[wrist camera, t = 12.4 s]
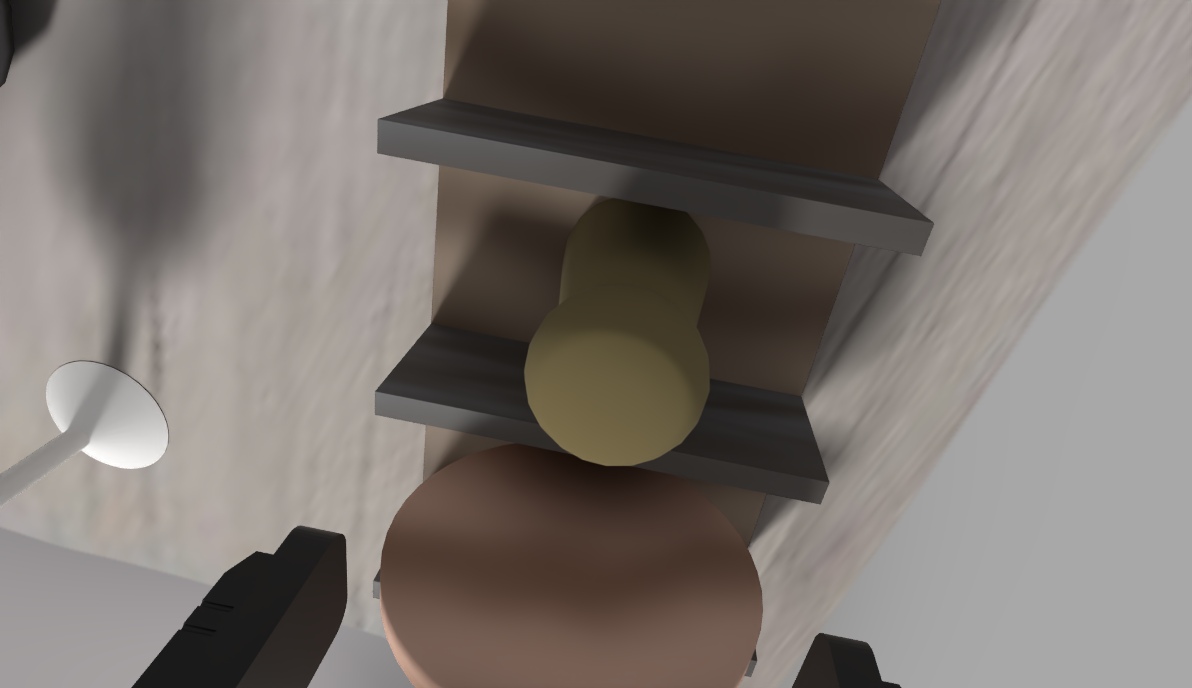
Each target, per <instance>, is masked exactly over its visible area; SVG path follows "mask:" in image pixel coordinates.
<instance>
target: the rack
mask: <svg viewBox="0 0 1192 688" xmlns="http://www.w3.org/2000/svg"><path fill="white" fill-rule="evenodd" d="M940 2H941V0H448V10H447V29H446V48H445V67H444V87H443V99H440V100H436V101H433V102H430V103H427V104H424V105H421V106H417V107H414V108H411V109H408V110H405V111H402V112H398V113H395V114H392V115H389V116H386V117H383V118H380V119H378V147H377V153H379V154H384V155H389V156H395V157H400V158H405V159H411V160H416V161H421V162H426V163H432V164H437V165H439V183H438V202H437V221H436V240H435V260H434V279H433V298H432V317H431V324H430V326H429V327H428V328H427V329H426V331H425V332H424V333H423V334H422V335H421V337H420V338H419V339H418V340H417V341H416V343H415V344H414V345H413V346H412V347H411V349H410V350H409V351H408V352H407V354H406V355H405V356H404V357H403V358H402V360H401V361H400V362H399V363H398V364H397V366H396V367H395V368H394V369H393V370H392V372H391V373H390V374H389V375H388V377H387V378H386V379H385V380H384V381H383V383H382V384H381V385H380V386H379V387H378V389H377V390H376V391H375V415H379V416H384V417H389V418H394V419H399V420H404V421H409V422H414V423H419V424H424V425H426V433H425V452H424V471H423V483H422V484H421V485H420V486H419V487H418V488H417V489H416V490H415V491H414V492H413V493H412V494H411V495H410V496H409V497H408V498H407V499H406V501H405V502H404V504H403V505H402V506H401V508H400V509H399V511H398V512H397V514H396V515H395V517H394V519H393V521H392V524H391V526H390V528H389V530H388V532H387V535H386V539H385V542H384V546H383V550H382V557H381V568H380V570H379V571H378V573H377V575H376V577H375V579H374V581H373V598H377V599H380V604H381V617H382V621H383V625H384V629H385V632H386V636H387V640H388V642H389V644H390V646H391V649H392V651H393V653H394V655H395V658H396V660H397V661H398V663H399V665H400V666H401V668H402V669H403V671H404V672H405V674H406V675H407V677H408V678H409V680H410V681H411V683H412V684H413V685H414V686H415V687H416V688H738V687H739V685H740V683H741V681H742V679H743V677H744V676H748V677H751V675H752V673H753V670H754V668H755V665H756V663H757V657H756V644H757V641H758V637H759V634H760V631H761V623H762V614H763V604H762V590H761V586H760V581H759V577H758V572H757V570H756V567H755V565H754V562H753V559H752V557H751V554H750V552H749V551H748V549H747V548H748V546H749V543H750V540H751V537H752V534H753V531H754V529H755V526H756V523H757V520H758V517H759V514H760V512H761V509H762V506H763V503H764V500H765V497H766V495H767V494H771V495H776V496H781V497H786V498H791V499H796V500H801V501H806V502H811V503H816V504H821V502H822V500H823V497H824V495H825V492H826V490H827V487H828V485H829V480H828V477H827V474H826V471H825V468H824V465H823V461H822V458H821V455H820V452H819V449H818V446H817V443H816V440H815V437H814V434H813V431H812V428H811V425H810V422H809V419H808V416H807V413H806V410H805V407H804V403H803V400H802V397H801V396H802V393H803V390H804V387H805V384H806V381H807V379H808V376H809V373H810V370H811V367H812V365H813V362H814V359H815V356H816V353H817V350H818V348H819V345H820V342H821V339H822V336H823V333H824V331H825V328H826V325H827V322H828V319H829V316H830V314H831V311H832V308H833V305H834V302H835V299H836V297H837V294H838V291H839V288H840V285H841V282H842V280H843V277H844V274H845V271H846V268H847V265H848V263H849V260H850V257H851V254H852V251H853V249H854V246H855V244H860V245H865V246H871V247H876V248H881V249H887V250H892V251H897V252H902V253H908V254H913V255H918V256H921V255H922V252H923V250H924V247H925V245H926V242H927V240H928V237H929V235H930V233H931V230H932V228H933V225H934V223H933V222H932V221H931V220H929V219H928V218H927V217H925V216H924V215H923V214H922V213H920V212H919V211H918V210H916V209H915V208H914V207H913V206H911V205H910V204H909V203H908V202H906V201H905V200H904V199H902V198H901V197H900V196H899V195H897V194H896V193H895V192H893V191H892V190H891V189H890V188H888V187H887V186H886V185H885V184H883V183H882V182H881V181H879V180H878V178H879V175H880V172H881V169H882V166H883V164H884V161H885V158H886V155H887V152H888V150H889V147H890V144H891V141H892V138H893V135H894V133H895V130H896V127H897V124H898V121H899V118H900V116H901V113H902V110H903V107H904V104H905V101H906V99H907V96H908V93H909V90H910V87H911V84H912V82H913V79H914V76H915V73H916V70H917V67H918V65H919V62H920V59H921V56H922V53H923V51H924V48H925V45H926V42H927V39H928V36H929V34H930V31H931V28H932V25H933V22H934V19H935V17H936V14H937V11H938V8H939V5H940ZM611 198H617V199H622V200H627V201H633V202H638V203H643V204H649V205H654V206H659V207H664V208H670V209H675V210H680V211H685V212H687V213H688V214H689V215H690V217H691V218H692V219H693V220H694V222H695V223H696V224H697V225H698V226H699V228H700V229H701V230H702V232H703V235H704V237H705V240H706V243H707V246H708V248H709V251H710V278H709V282H708V286H707V290H706V293H705V297H704V301H703V305H702V308H701V312H700V316H699V320H698V324H697V327H696V328H697V329H698V331H699V333H700V336H701V338H702V341H703V343H704V346H705V349H706V351H707V354H708V359H709V379H710V392H709V394H708V397H707V400H706V403H705V406H704V408H703V411H702V414H701V416H700V419H699V421H698V423H697V425H696V426H695V427H694V428H693V430H692V431H691V432H690V433H689V434H688V436H687V437H686V438H685V439H684V441H683V442H682V443H681V444H679V445H678V446H676V447H674V448H673V449H671V450H670V451H668V452H666V453H665V454H663V455H662V456H660V457H658V458H656V459H654V460H650V461H646V462H643V463H639V464H636V465H632V466H605V465H601V464H597V463H593V462H589V461H585V460H582V459H581V458H579V457H577V456H575V455H573V454H572V453H570V452H568V451H566V450H564V449H563V448H561V447H560V446H559V445H558V444H557V443H556V442H555V441H554V440H553V439H552V438H551V437H550V436H549V435H548V434H547V433H546V432H545V431H544V430H543V429H542V427H541V426H540V425H539V423H538V421H537V419H536V417H535V415H534V413H533V411H532V410H531V408H530V406H529V404H528V397H527V391H526V384H525V374H524V369H525V364H526V359H527V354H528V349H529V344H530V342H531V340H532V339H533V337H534V335H535V333H536V332H537V330H538V328H539V327H540V325H541V324H542V322H543V320H544V319H545V317H546V316H547V314H548V313H549V312H551V311H552V310H553V309H554V308H556V307H557V306H558V305H559V297H560V286H561V275H562V264H563V257H564V252H565V248H566V243H567V238H568V237H569V235H570V233H571V232H572V230H573V228H574V227H575V225H576V223H577V222H578V220H579V219H580V218H581V217H582V216H583V215H585V214H586V213H587V212H588V211H589V210H590V209H592V208H593V207H594V206H595V205H596V204H598V203H601V202H603V201H606V200H608V199H611Z"/></svg>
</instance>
